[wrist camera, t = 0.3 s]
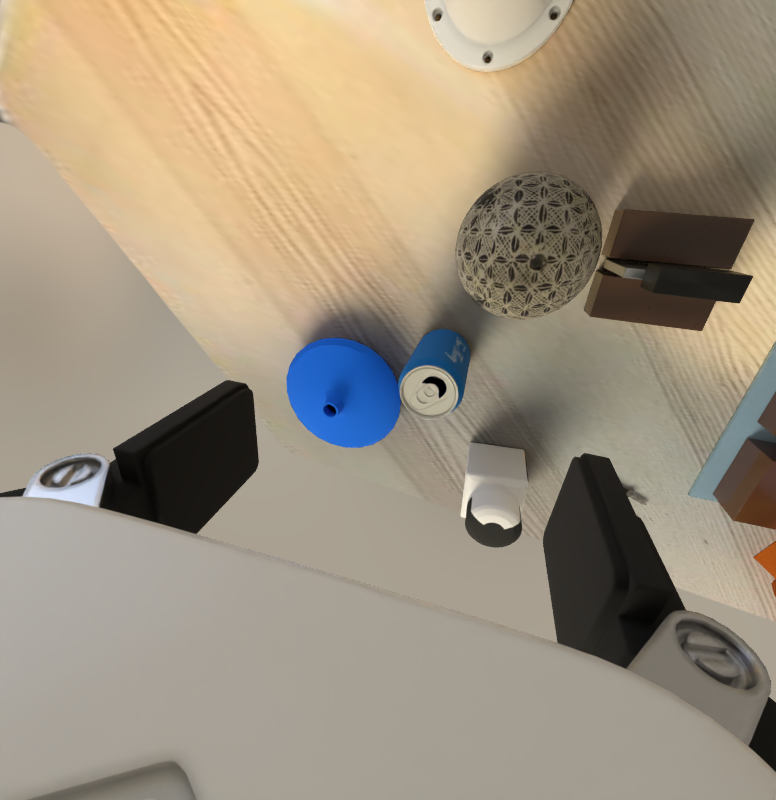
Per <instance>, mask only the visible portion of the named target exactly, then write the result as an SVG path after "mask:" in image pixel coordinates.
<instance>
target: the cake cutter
mask: <svg viewBox="0 0 776 800" xmlns="http://www.w3.org/2000/svg"><path fill="white" fill-rule="evenodd" d="M603 268H605V269H607V270H609V271H611V272H613V273H615V274H617V275H619V276H621V277H623V278H631V279H641V280H642V283H641V285H640V287H641V288H643V289H645V290H647V291H649V292H651V293H653V294H662V295H671V296H679V297H688V298H697V299H705V300H714V301H723V302H731V303H740V301H741V299H742V297H743V295H744V293H745V291H746V290H747V288H748V286H749V284H750V282H751V280H752V278H753V276H751V275H747V274H743V273H738V272H734V271H729V270H719V269H709V268H700V267H690V266H680V265H670V264H660V263H649V264H648V263H638V262H628V261H618V260H609V259H605V262H604V265H603Z"/></svg>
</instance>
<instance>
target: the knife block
mask: <svg viewBox="0 0 776 800" xmlns="http://www.w3.org/2000/svg"><path fill="white" fill-rule="evenodd" d="M753 222H754V219H743V218H730V217H718V216H705V215H692V214H679V213H666V212H654V211H641V210H628V209H621V210H615V213H614V216H613V220H612V223H611V226H610V229H609V232H608V235H607V238H606V242H605V245H604V248H603V251H602V255H605V256H608V257H611V258H621V259H631V260H641V261H651V262H661V263H671V264H681V265H691V266H701V267H710V268H720V269H731V268H732V266H733V264H734V262H735V260H736V258H737V256H738V254H739V252H740V250H741V247H742V245H743V243H744V241H745V239H746V237H747V235H748V233H749V231H750V228H751V226H752V224H753ZM641 283H642V280H641V279H631V278H623V277H621V276H619V275H617V274H615V273H609V272H600V271H596V273H595V276H594V279H593V283H592V286H591V289H590V292H589V295H588V298H587V301H586V305H585V308H584V311H585V312H586V313H587V314H588V315H589V316H590V317H597V318H604V319H612V320H620V321H628V322H635V323H643V324H651V325H658V326H666V327H674V328H682V329H689V330H697V331H702V330H703V327H704V325H705V323H706V321H707V319H708V317H709V315H710V313H711V311H712V309H713V306H714V304H715V302H716V301H714V300H705V299H697V298H688V297H679V296H671V295H662V294H653V293H651V292H649V291H647V290H645V289H643V288H641V287H640V285H641Z"/></svg>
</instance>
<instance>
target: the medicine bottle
mask: <svg viewBox="0 0 776 800" xmlns="http://www.w3.org/2000/svg"><path fill="white" fill-rule="evenodd" d="M528 485H529V481H528V473H527V465H526V457H525V451H524V450H522V449H515V448H508V447H501V446H494V445H487V444H479V443H470V444H469V450H468V458H467V466H466V474H465V482H464V490H463V499H462V508H461V517H463V518H466V520H465V526H466V529H467V531H468V533H469V535H470V536H471V537H472V538H473V539H475V540H476V541H477V542H479V543H481V544H483V545H485V546H490V547H504V546H507V545H510V544H511V543H513V542H515V541H516V540H517V539H518V538H519V536H520V535H521V532H522V523H521V516H522V512H523V507H524V503H525V498H526V494H527V489H528Z"/></svg>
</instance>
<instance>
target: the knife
mask: <svg viewBox="0 0 776 800" xmlns="http://www.w3.org/2000/svg"><path fill="white" fill-rule="evenodd" d="M624 491H625V493H626V495H627V497H631V498H633V499H634V500H636V501H638V502H639V503H641V504H644V505H646V503H645V502H644V501H642V500H641V499H639V498H638V497H636V496H635V495H633V494H632V491H634V490H629V491H627V490H625V489H624Z"/></svg>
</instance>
